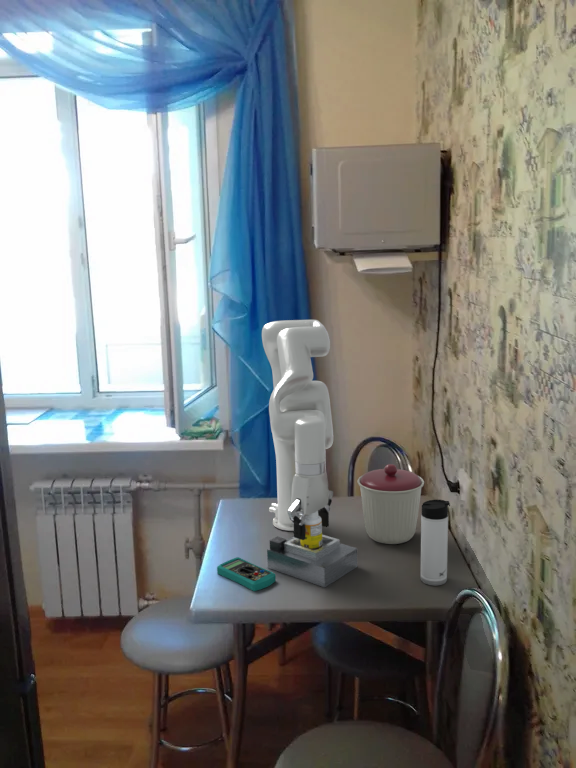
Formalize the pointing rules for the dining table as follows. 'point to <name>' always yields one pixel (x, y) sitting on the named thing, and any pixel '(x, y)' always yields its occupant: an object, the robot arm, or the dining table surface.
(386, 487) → the canister
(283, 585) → the dining table surface
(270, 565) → the grey square socket fixture
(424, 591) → the dining table surface
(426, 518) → the travel mug
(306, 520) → the supplement bottle
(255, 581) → the digital multimeter
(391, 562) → the dining table surface
